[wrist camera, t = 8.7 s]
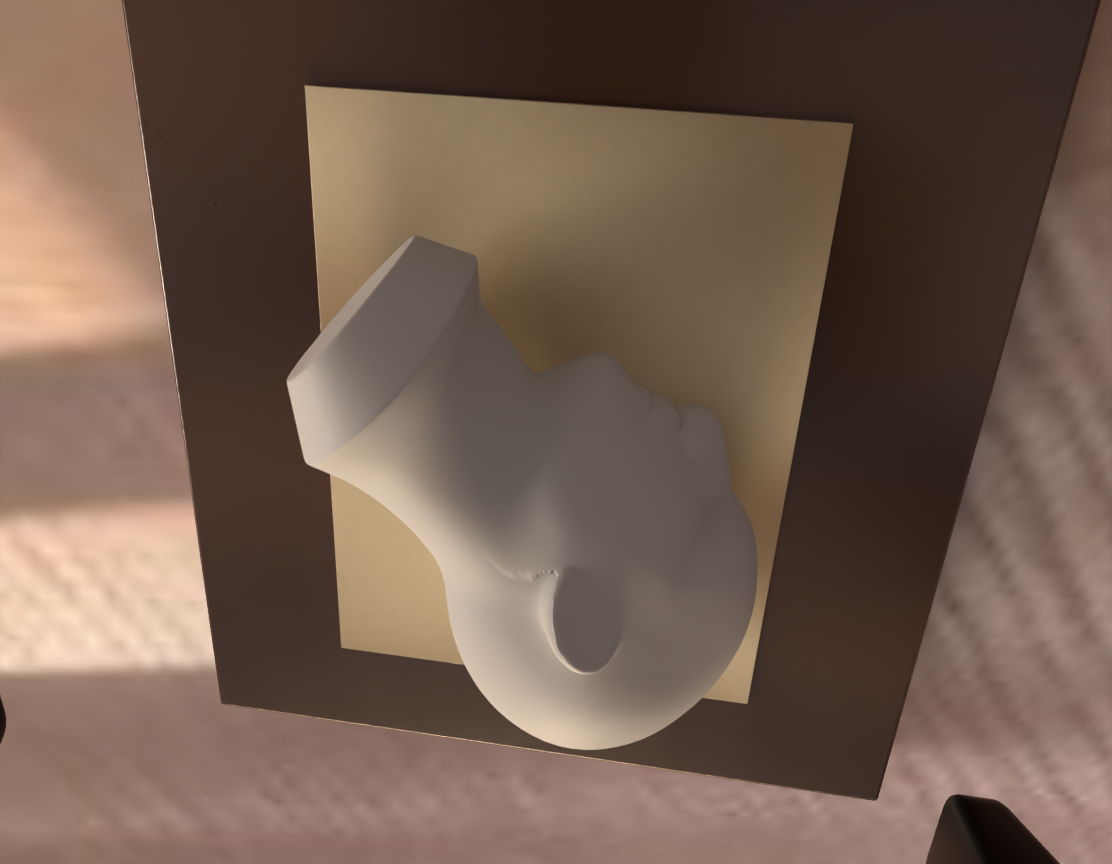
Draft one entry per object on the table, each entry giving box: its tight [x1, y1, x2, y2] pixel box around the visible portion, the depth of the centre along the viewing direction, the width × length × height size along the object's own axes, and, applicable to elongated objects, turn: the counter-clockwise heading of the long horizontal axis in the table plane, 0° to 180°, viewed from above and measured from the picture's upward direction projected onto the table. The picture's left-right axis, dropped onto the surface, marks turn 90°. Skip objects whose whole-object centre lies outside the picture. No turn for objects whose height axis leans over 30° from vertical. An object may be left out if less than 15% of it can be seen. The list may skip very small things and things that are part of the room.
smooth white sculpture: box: [287, 235, 758, 750], centre depth 13 cm, size 4×8×5 cm
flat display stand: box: [122, 0, 1101, 801], centre depth 14 cm, size 16×13×4 cm
